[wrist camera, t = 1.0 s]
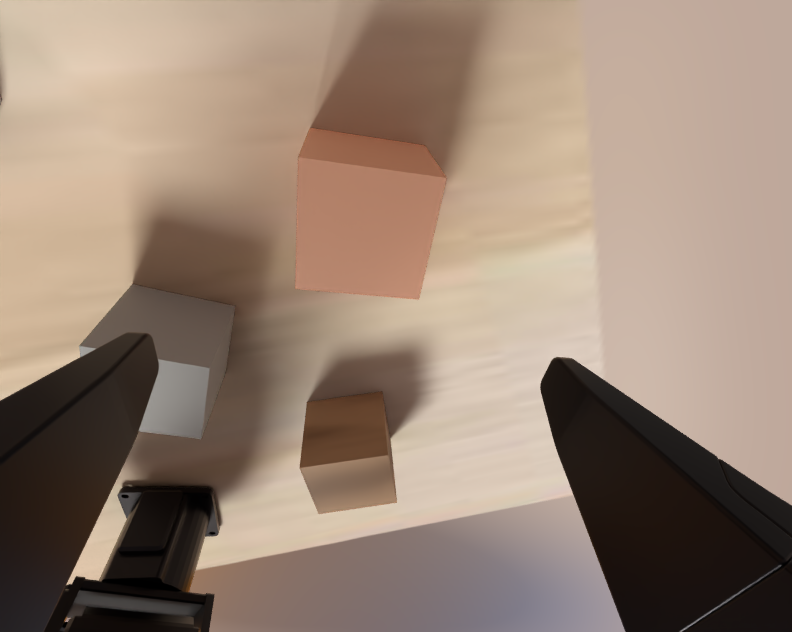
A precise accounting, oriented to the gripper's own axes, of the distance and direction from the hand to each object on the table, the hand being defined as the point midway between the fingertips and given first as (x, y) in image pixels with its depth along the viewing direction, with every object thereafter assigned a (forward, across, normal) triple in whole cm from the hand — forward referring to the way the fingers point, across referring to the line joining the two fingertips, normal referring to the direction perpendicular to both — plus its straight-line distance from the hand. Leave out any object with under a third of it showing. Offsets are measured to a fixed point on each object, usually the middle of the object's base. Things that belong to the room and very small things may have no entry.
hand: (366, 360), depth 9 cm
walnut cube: (+12, -1, +16) cm, 20 cm away
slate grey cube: (+12, +9, +9) cm, 17 cm away
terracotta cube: (+12, 0, 0) cm, 12 cm away
